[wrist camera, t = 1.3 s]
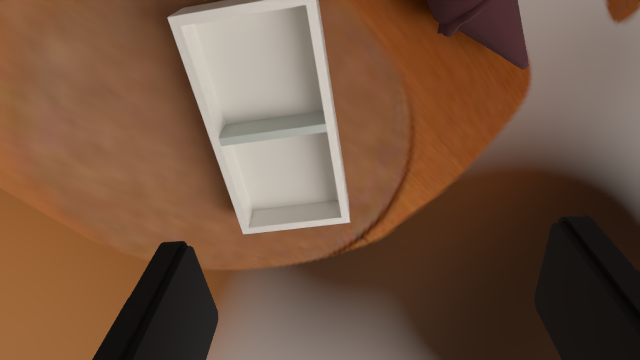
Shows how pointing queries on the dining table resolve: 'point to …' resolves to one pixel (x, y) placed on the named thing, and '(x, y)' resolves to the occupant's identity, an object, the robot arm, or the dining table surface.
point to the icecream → (485, 25)
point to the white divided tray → (267, 109)
